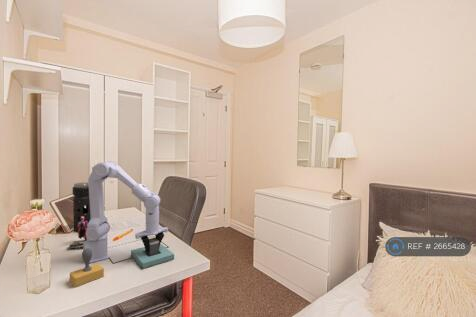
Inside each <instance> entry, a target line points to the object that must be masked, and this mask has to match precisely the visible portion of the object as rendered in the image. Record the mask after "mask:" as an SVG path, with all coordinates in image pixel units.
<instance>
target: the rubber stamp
mask: <svg viewBox="0 0 476 317" xmlns="http://www.w3.org/2000/svg"><path fill="white" fill-rule="evenodd" d="M91 257H92V250H91V249H89V248H87V249H85V250H83V249H82V252H81V258H82V260H83V262H84V264H85V265H84V267H82V268H80V269H77V270H73V271H71V272H69V283H70V285H72V287H73V288H77V287H79V286H82V285H85V284H88V283H91V282H93V281H96V280H98V279H101V278H103V277H104V276H105V274H104V272H105V270H104V267H103V266H102V265H101V264H100V263H98V262H97V263H94V264H91V263H90V260H91ZM90 264H91V265H90Z"/></svg>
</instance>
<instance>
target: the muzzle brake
mask: <svg viewBox="0 0 476 317" xmlns="http://www.w3.org/2000/svg"><path fill="white" fill-rule="evenodd" d="M72 196H73V198H72V200H73V202H72V208H73V210H72V211H73V215H72V216H73V233H77V234H78V230H79V227H78V223H79V222H81V221H82V220H81V217H82V216H83V217H84V221H87V223H89V221H90V219H91V214H90V199H89V185H88V182H75V183H74V184H73V187H72ZM84 228H85V227H84ZM86 228H87V227H86ZM80 229H81V228H80Z"/></svg>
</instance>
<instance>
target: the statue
mask: <svg viewBox="0 0 476 317" xmlns="http://www.w3.org/2000/svg"><path fill="white" fill-rule="evenodd" d="M81 220H82V221H81V222H79V223H78V227H79V230H78V233H77V235H78V238H79V240H72V242H71V243H70V244H69V245H68V247H66V249H67V250H76V249H78V250H83V242H84V241H87V240H88V239H87V237H86V231H87V228H86V227H87V225H88V223H87V221H84V217H83V216H82V217H81ZM84 227H85V228H84ZM80 228H81V229H80ZM82 238H83V239H82Z"/></svg>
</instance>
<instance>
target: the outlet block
mask: <svg viewBox="0 0 476 317" xmlns="http://www.w3.org/2000/svg"><path fill="white" fill-rule="evenodd" d="M130 256H131V258H133V260H134V261H135V262H136V263H137V264H138V265H139V266H140V267H141V269H142V270H145V269H148V268H151V267H155V266H158V265H161V264H165V263H167V262H170V261H173V260H175V254H174V252H172V251H171V250H170V249H168V248H167V247H166V246H164V244H162V242H161V243H160V247H159V254H157V255H153V256H150V257H148V256H147V255H146V251H145V246H143V247H138V248H135V249H131V250H130Z"/></svg>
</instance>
